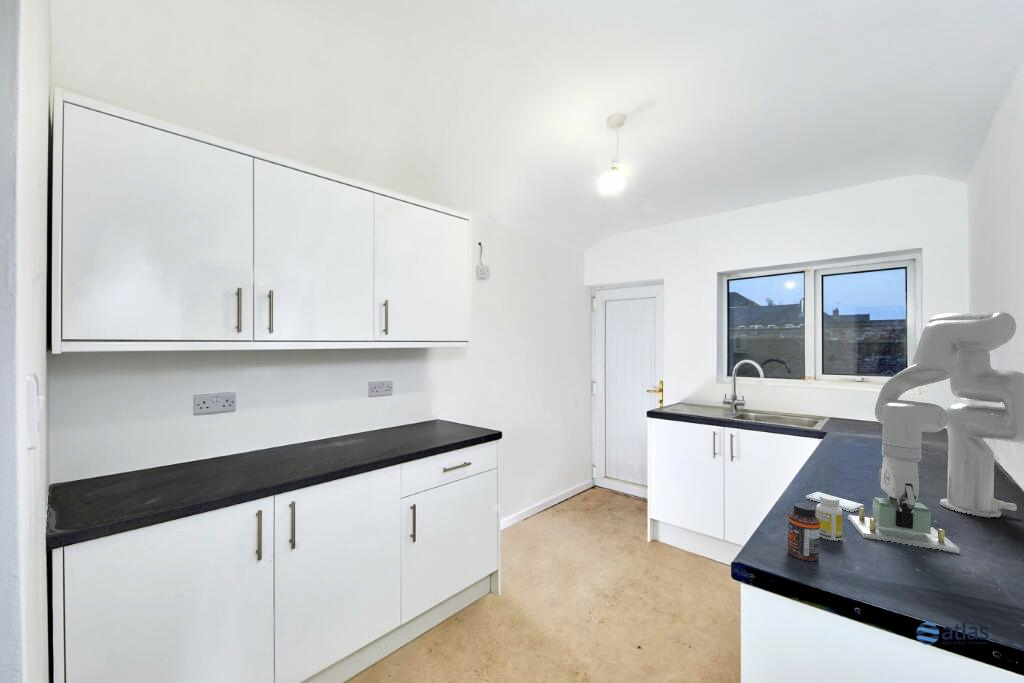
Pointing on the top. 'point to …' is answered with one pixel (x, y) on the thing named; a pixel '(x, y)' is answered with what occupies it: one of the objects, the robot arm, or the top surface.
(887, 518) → the block
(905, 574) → the top surface
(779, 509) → the top surface
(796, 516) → the supplement bottle
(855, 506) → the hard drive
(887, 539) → the plate
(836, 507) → the supplement bottle
